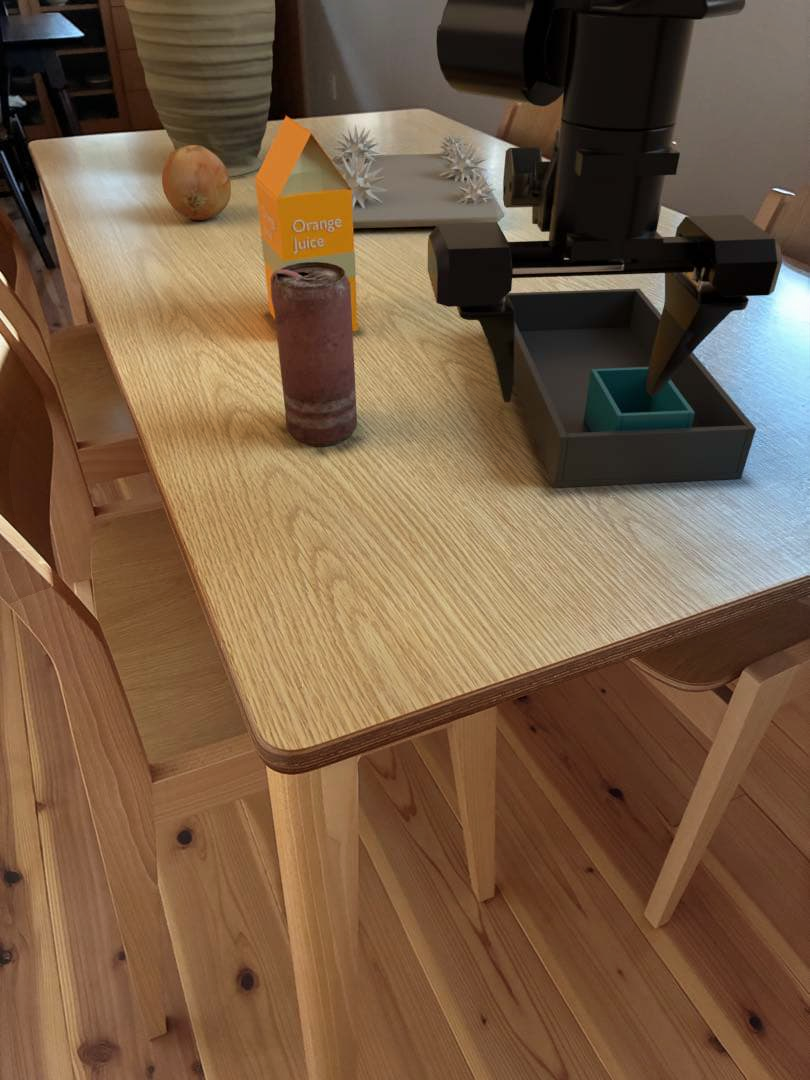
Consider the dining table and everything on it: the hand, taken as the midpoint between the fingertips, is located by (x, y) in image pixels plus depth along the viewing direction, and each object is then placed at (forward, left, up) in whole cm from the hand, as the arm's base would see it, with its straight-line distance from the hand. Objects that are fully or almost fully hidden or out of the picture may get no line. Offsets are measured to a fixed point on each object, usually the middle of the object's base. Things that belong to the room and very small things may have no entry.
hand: (578, 396), depth 50 cm
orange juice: (+18, -42, -12) cm, 47 cm away
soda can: (+17, -18, -12) cm, 28 cm away
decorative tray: (+4, -89, -12) cm, 90 cm away
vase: (+35, -113, -12) cm, 119 cm away
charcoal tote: (-9, -22, -12) cm, 27 cm away
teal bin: (-9, -12, -11) cm, 19 cm away
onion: (+35, -82, -12) cm, 90 cm away
